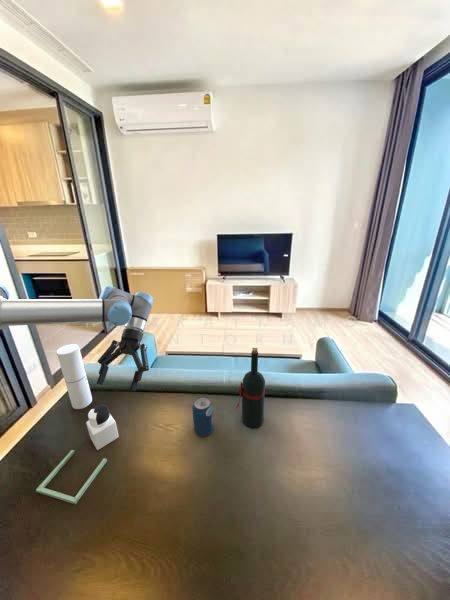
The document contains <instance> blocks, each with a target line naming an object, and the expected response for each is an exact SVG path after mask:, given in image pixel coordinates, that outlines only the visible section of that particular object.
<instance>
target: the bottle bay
mask: <svg viewBox="0 0 450 600" xmlns="http://www.w3.org/2000/svg"><path fill="white" fill-rule="evenodd" d="M75 453H76V451H75V450H74V449H71V450H70V451H69V452H68V453H67V455H65V456H64V458H63V459H61V461H60V462H59V464H57V466H56V467H55V468H54V469H53V470H52V471H51V472H50V473H49V475H47V477H46V478H45V479H44V480H43V481H42V482H41V483H40V484H39V485H38V487H37V488H36V489H35V492H36V493H38V494H41V495H45V496H48V497H51V498H54V499H57V500H60V501H63V502H66V503H70V504H73V505H77V504H78V502H79V500H80V499H81V498H82V497H83V495H84V494H85V492H86V491H87V489H89V487H90V485H91V484H92V482H94V481H95V478H96V477H97V476H98V474H99V473H100V472H101V470H102V469H103V467H104V466H105V465H106V463H107V462H108V459H107V458H105V457H103V458H102V460H101V461H100V463H99V464H98V465H97V467H96V468H95V469H94V470H93V472H92V474H91V475H90V476H89V477H88V478H87V480H86V481H85V483H84V484H83V485H82V487H81V488H80V489H79V491H78V492H77V494H76V495H75V496H72V495H68V494H65V493H63V492H59V491H55V490H53V489H50V488H46V486H47V485H48V484H49V483H50V482H51V481H52V479H53V478H54V477H55V476H56V475H57V474H58V473H59V471H60V470H61V469H62V468H63V467H65V465H66V464H67V462H68V461H69V460H70V459H71V458H72V457H73V455H75Z"/></svg>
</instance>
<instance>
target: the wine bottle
mask: <svg viewBox="0 0 450 600" xmlns="http://www.w3.org/2000/svg"><path fill="white" fill-rule="evenodd" d="M250 355H251V356H250V371H247V372H246V373H245V374H244V375H243V378H242V381H240V386H238V393H239V399H238V403H237V405H236V407H235V411H237V409H238V408H239V407H240V400H241V422H242V424H243V425H244V426H245V427H246V428H248V429H251V430H254V429H259V428H261V426H263V423H264V417H265V414H264V413H265V396H266V395H265V394H266V390H265V389H266V380H265V377H264V375H263V374H262V373H261V372H260V371H258V370H259V369H258V368H259V351H258V347H252V349H251V354H250ZM241 397H242V398H241Z"/></svg>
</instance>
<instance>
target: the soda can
mask: <svg viewBox="0 0 450 600" xmlns="http://www.w3.org/2000/svg"><path fill="white" fill-rule="evenodd" d="M213 408H214V406H213V402H212V401H211V399H210V398H209V397H208V396H199V397H197V398H195V399H194V401H193V404H192V407H191V410H192V411H191V412H192V422H193V423H192V425H193V431H194V432H195V433H196V434H197V435H198V436H199V437H206V436H209V435H210V434H211V433H212V431H213V430H214V409H213Z"/></svg>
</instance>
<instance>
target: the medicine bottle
mask: <svg viewBox="0 0 450 600" xmlns="http://www.w3.org/2000/svg"><path fill="white" fill-rule="evenodd" d="M87 417H88V420H87V421H86V422H85V424H86V427H87V431H88V435H89V439H90V440H91V442H92V443H93V445H94V447H95V450H97V451H99V450H101V449H102V448H104V447H106V446H107V445H109V444H110V443H112V442H114V441H115V440H117V439H118V438H119V437H120V436H119V430H118V426H117V422H116V420H115V419H114V417H113V416H112V414H111V413H110V410H109V406H108V405H105V404H98V405H95V406H94V407H92V408H91V409H90V410H89V412H88V414H87Z"/></svg>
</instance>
